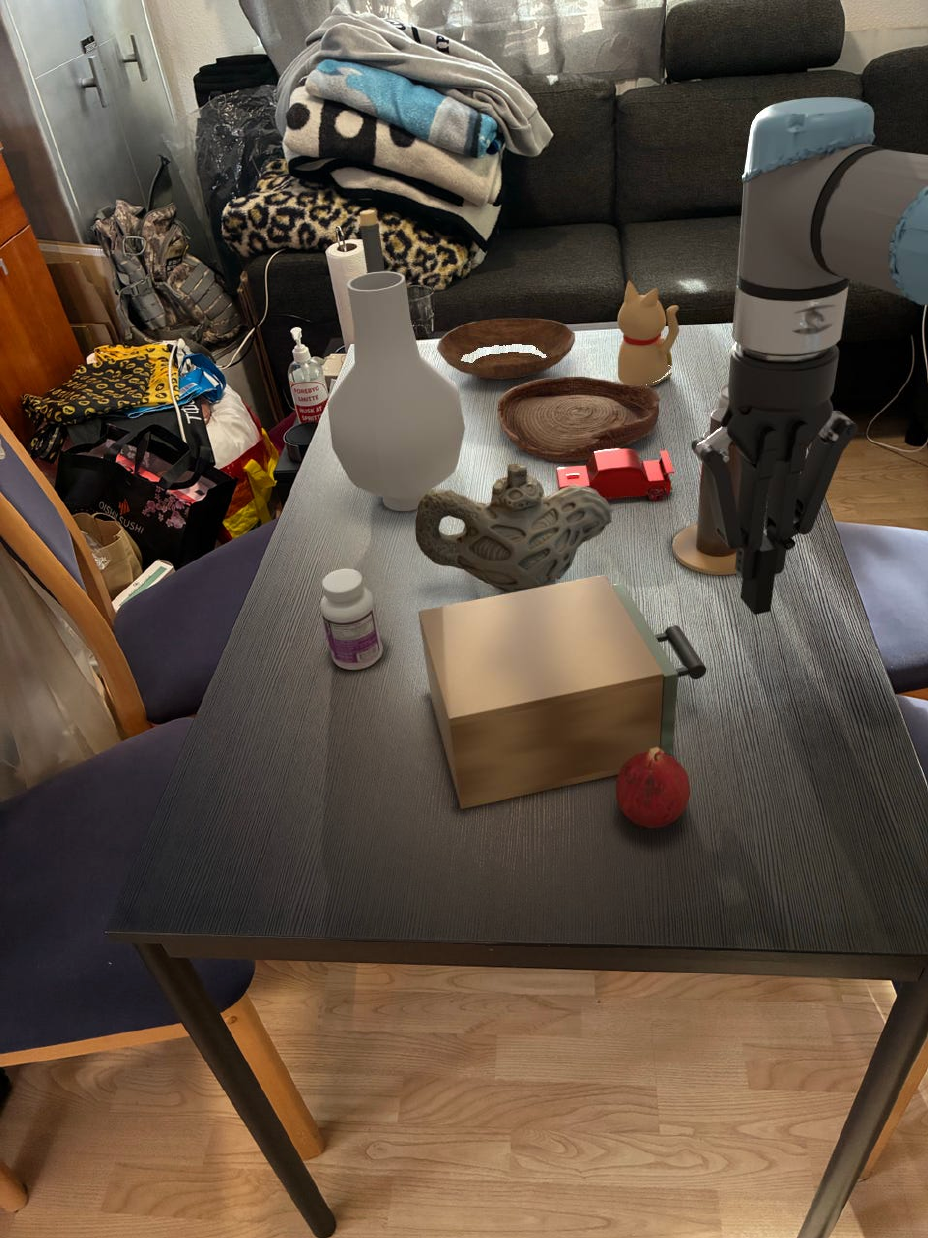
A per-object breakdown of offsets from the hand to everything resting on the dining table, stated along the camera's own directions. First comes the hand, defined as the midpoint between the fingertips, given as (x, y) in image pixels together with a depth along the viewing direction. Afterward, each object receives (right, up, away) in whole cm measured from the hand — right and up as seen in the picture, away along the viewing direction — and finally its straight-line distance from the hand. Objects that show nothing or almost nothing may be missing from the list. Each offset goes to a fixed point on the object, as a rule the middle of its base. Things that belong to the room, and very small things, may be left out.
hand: (755, 604), depth 82 cm
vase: (-33, +14, +40) cm, 54 cm away
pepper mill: (+3, +7, +24) cm, 25 cm away
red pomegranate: (-10, -18, -5) cm, 21 cm away
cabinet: (-19, -11, +4) cm, 22 cm away
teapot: (-19, +3, +23) cm, 30 cm away
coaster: (+3, +7, +24) cm, 25 cm away
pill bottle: (-36, -5, +15) cm, 40 cm away
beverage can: (+8, +16, +36) cm, 41 cm away
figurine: (+3, +35, +62) cm, 71 cm away
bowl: (-18, +39, +70) cm, 82 cm away
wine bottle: (-35, +27, +57) cm, 73 cm away
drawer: (-15, -10, +4) cm, 18 cm away
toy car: (-7, +14, +36) cm, 39 cm away
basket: (-9, +25, +51) cm, 57 cm away
